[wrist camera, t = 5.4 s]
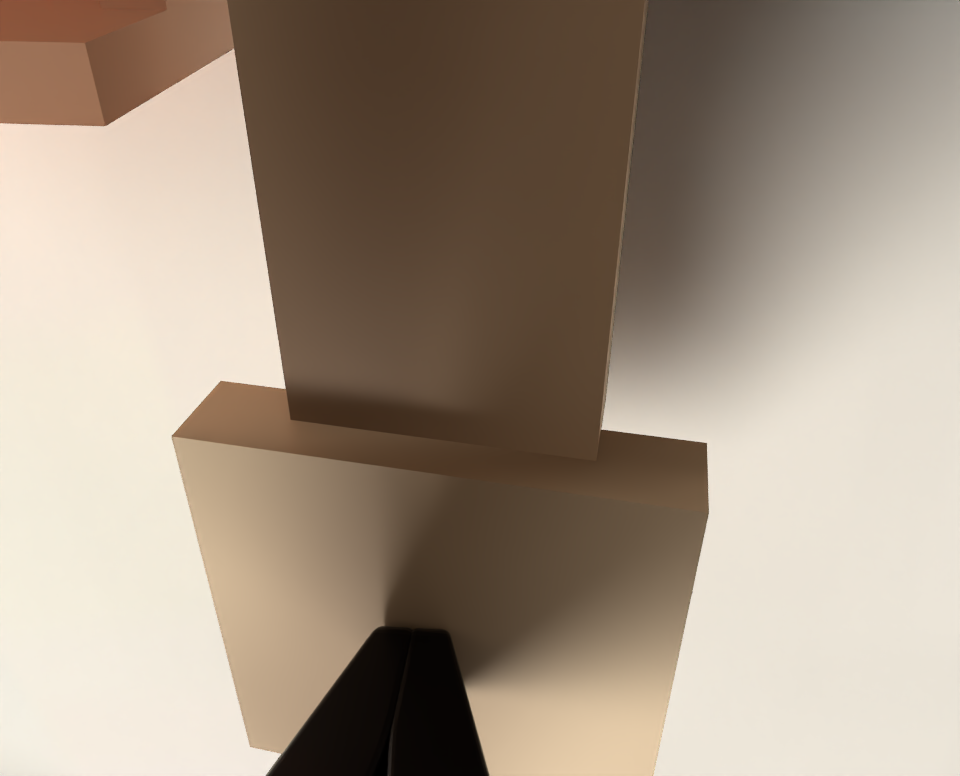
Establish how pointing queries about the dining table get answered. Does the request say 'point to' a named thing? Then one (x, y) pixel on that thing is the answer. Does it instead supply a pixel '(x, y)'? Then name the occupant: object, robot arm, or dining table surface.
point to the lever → (447, 379)
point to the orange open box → (101, 55)
